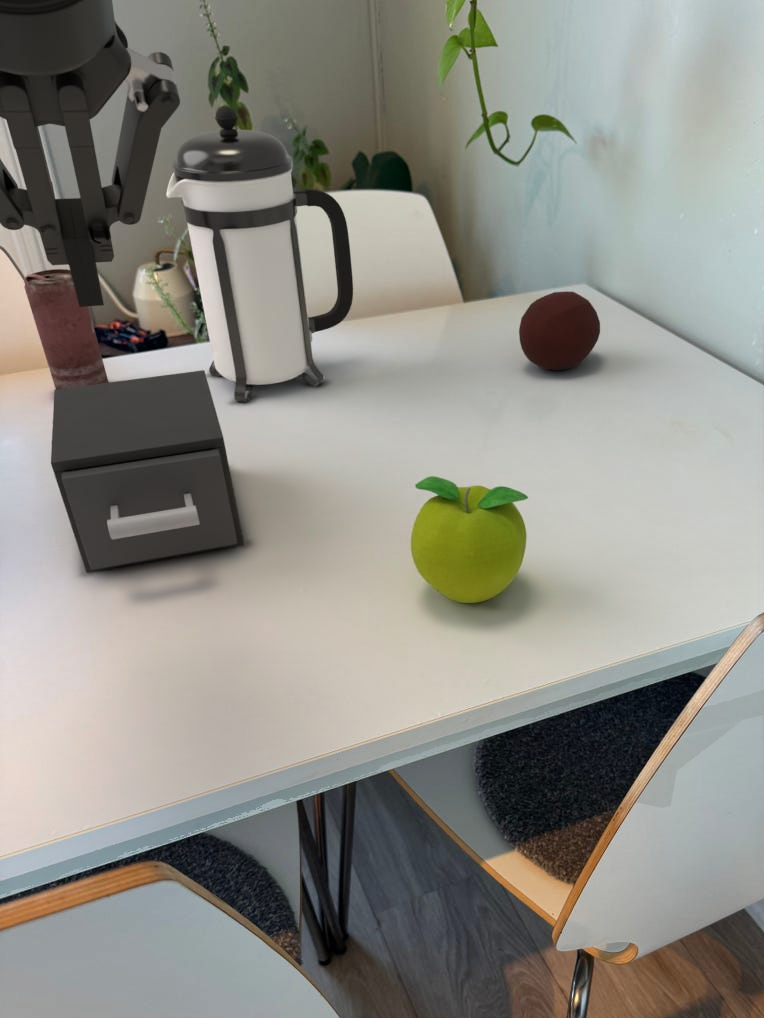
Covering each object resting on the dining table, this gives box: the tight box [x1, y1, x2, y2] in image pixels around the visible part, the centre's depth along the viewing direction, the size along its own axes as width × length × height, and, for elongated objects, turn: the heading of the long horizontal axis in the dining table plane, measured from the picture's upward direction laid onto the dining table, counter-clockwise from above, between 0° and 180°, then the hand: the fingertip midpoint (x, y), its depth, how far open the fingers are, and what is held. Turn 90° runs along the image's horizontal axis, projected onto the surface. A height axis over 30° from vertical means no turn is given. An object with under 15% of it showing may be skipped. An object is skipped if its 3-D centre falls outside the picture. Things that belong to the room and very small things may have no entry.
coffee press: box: [166, 105, 354, 403], centre depth 107 cm, size 17×16×30 cm
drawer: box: [62, 449, 237, 570], centre depth 83 cm, size 19×13×9 cm, turn 19°
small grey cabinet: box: [50, 369, 245, 573], centre depth 86 cm, size 16×14×11 cm
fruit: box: [410, 475, 529, 604], centre depth 75 cm, size 9×9×10 cm
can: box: [23, 268, 110, 390], centre depth 108 cm, size 6×6×14 cm
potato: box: [518, 291, 601, 371], centre depth 115 cm, size 9×12×9 cm
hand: (88, 287), depth 59 cm, fingers closed
